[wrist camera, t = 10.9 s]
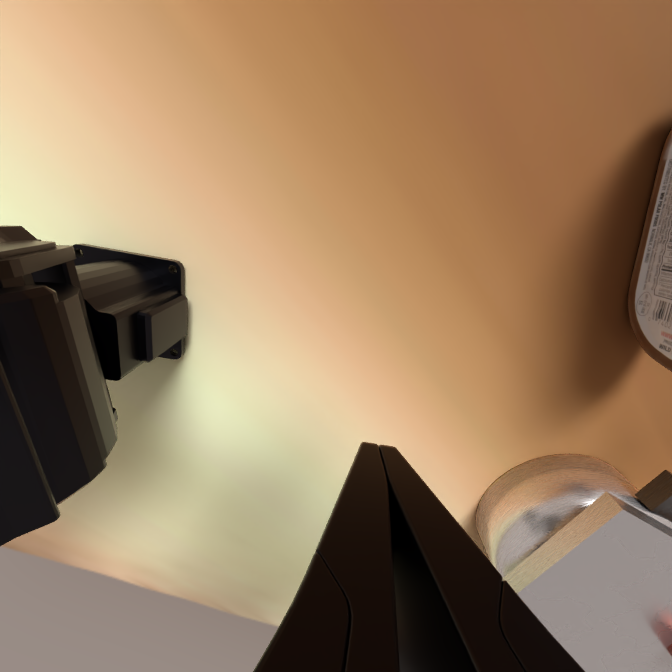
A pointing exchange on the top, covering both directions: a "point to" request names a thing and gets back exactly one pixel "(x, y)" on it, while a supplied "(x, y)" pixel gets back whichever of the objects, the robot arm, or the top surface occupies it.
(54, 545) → the top surface
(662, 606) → the lid
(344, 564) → the robot arm
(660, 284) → the tin
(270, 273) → the top surface
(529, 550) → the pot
